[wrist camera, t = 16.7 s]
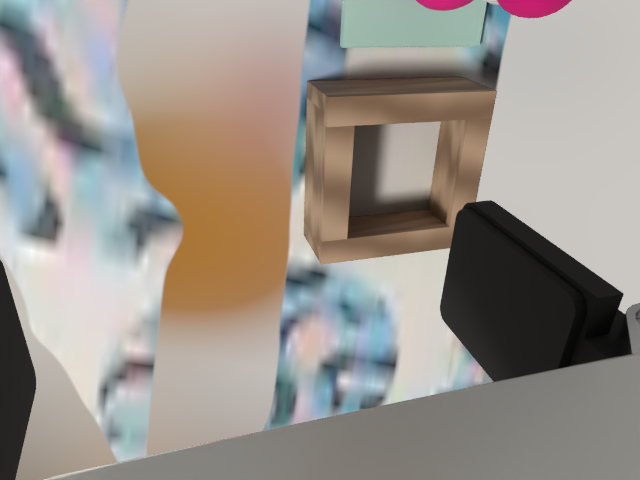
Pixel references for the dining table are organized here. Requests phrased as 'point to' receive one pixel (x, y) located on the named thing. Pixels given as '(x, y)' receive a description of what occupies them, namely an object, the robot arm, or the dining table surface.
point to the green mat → (409, 24)
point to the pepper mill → (504, 6)
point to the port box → (337, 154)
